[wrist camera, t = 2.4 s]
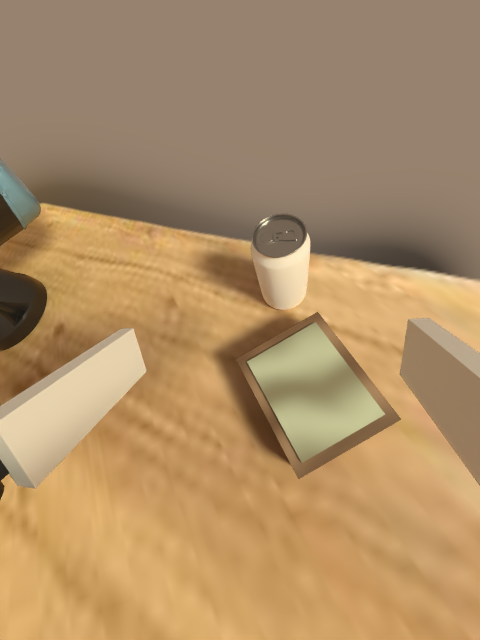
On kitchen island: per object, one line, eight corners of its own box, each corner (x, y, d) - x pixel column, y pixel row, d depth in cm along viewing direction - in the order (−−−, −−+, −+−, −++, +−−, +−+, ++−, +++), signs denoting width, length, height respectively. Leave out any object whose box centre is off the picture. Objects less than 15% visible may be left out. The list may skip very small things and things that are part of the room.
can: (262, 274, 37) (248, 214, 26) (304, 270, 35) (309, 206, 25) (262, 312, 34) (246, 263, 24) (307, 309, 33) (314, 257, 22)
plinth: (244, 367, 32) (235, 358, 27) (314, 326, 32) (317, 310, 27) (298, 468, 26) (298, 479, 21) (383, 419, 26) (402, 419, 22)
